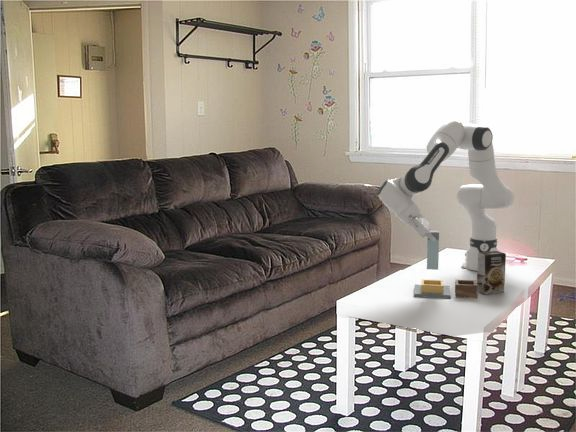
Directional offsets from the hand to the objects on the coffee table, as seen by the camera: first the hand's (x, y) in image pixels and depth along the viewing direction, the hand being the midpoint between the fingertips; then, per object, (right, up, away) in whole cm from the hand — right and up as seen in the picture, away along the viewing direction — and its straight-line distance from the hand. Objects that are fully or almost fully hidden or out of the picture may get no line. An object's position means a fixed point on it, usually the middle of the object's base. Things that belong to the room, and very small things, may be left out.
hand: (434, 239), depth 253 cm
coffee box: (+23, -22, +4) cm, 32 cm away
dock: (0, -22, +4) cm, 22 cm away
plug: (0, -12, +2) cm, 12 cm away
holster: (+12, -22, 0) cm, 25 cm away
